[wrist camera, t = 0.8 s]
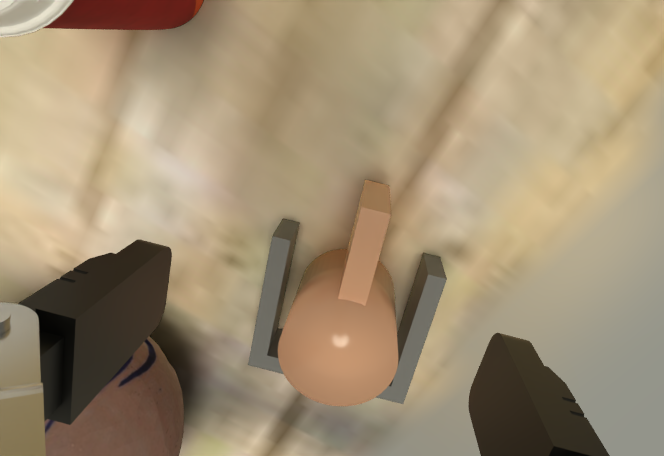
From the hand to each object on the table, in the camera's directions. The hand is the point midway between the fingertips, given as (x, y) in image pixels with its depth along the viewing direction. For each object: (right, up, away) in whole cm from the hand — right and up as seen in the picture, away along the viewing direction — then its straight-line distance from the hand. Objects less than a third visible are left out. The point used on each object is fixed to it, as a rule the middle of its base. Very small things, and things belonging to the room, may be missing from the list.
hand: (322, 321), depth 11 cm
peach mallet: (+2, 0, +22) cm, 22 cm away
